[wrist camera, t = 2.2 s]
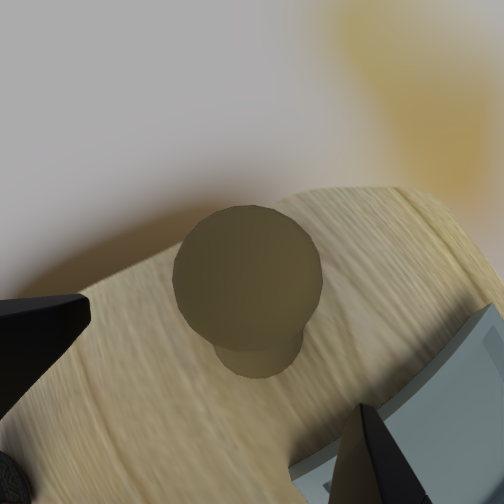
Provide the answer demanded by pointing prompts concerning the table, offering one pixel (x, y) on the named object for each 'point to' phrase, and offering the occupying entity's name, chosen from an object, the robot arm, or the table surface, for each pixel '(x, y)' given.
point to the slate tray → (442, 422)
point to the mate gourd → (13, 482)
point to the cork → (249, 287)
